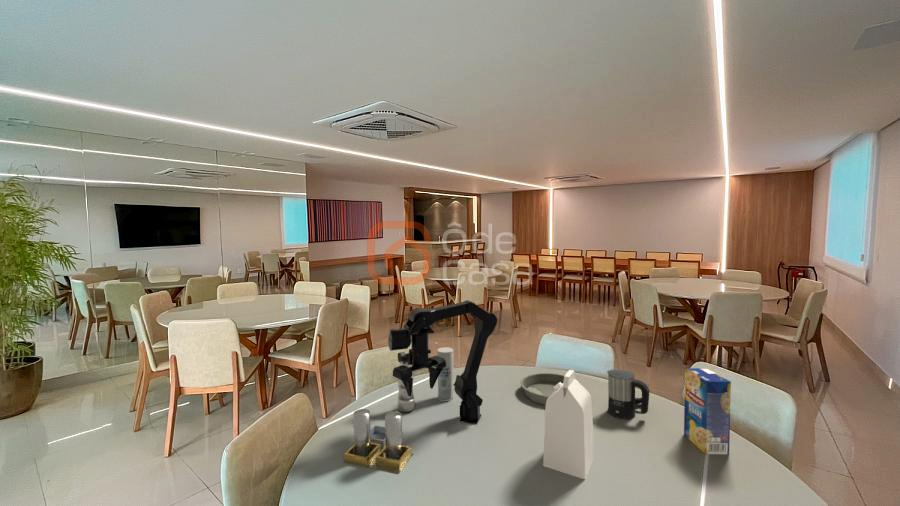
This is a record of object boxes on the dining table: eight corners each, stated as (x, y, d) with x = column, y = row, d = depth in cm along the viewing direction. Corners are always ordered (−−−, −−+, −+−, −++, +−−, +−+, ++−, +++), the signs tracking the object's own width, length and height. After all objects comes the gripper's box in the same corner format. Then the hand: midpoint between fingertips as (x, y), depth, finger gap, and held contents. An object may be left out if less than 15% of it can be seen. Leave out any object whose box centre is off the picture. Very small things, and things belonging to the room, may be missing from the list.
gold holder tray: (413, 456, 110) (413, 447, 110) (398, 477, 100) (398, 467, 100) (361, 446, 116) (361, 437, 116) (342, 465, 106) (342, 455, 106)
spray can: (435, 400, 147) (434, 351, 146) (441, 393, 153) (441, 346, 152) (450, 403, 145) (449, 353, 144) (456, 396, 151) (455, 348, 150)
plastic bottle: (412, 415, 135) (411, 361, 134) (394, 413, 137) (393, 360, 136) (417, 407, 142) (416, 355, 141) (400, 405, 143) (399, 355, 142)
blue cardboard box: (705, 434, 120) (706, 368, 119) (729, 454, 109) (731, 381, 108) (683, 434, 120) (684, 368, 119) (705, 454, 109) (707, 381, 108)
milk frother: (606, 416, 133) (607, 376, 132) (607, 398, 147) (607, 361, 146) (651, 424, 127) (652, 382, 126) (647, 404, 141) (648, 366, 141)
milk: (585, 479, 99) (585, 384, 97) (543, 466, 105) (543, 376, 103) (594, 456, 109) (594, 370, 108) (555, 445, 115) (555, 363, 114)
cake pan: (534, 378, 169) (534, 368, 169) (589, 391, 155) (590, 380, 154) (510, 397, 149) (510, 387, 149) (571, 414, 135) (571, 402, 134)
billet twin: (374, 452, 111) (373, 410, 110) (365, 461, 106) (364, 417, 105) (360, 449, 112) (359, 408, 112) (351, 458, 108) (350, 415, 107)
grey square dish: (395, 437, 120) (395, 428, 120) (383, 450, 113) (383, 440, 113) (374, 433, 123) (374, 424, 123) (362, 446, 116) (362, 436, 116)
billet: (403, 453, 110) (402, 411, 109) (401, 463, 105) (400, 419, 104) (387, 453, 110) (386, 411, 109) (384, 463, 105) (383, 419, 104)
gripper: (427, 336, 136) (428, 378, 137) (383, 347, 124) (384, 392, 125) (446, 343, 128) (447, 387, 128) (401, 355, 115) (402, 403, 116)
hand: (420, 392), depth 125 cm, fingers open, 9 cm apart
